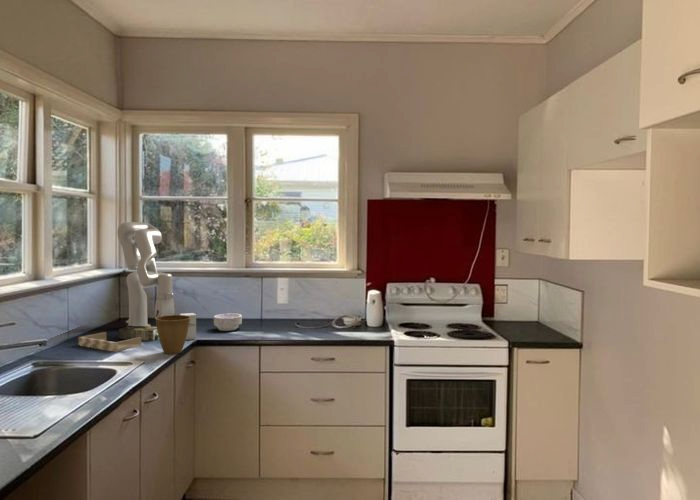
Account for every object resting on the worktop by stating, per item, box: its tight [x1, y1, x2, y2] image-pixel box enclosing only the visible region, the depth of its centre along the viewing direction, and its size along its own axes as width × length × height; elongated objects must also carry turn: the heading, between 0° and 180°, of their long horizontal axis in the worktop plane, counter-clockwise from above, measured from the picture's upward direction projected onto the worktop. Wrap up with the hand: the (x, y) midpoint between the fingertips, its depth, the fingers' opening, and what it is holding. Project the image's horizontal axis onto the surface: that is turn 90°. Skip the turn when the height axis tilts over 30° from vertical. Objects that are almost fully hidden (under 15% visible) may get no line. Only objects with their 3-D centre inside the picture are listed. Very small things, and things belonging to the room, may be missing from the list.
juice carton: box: [117, 325, 159, 342], centre depth 260 cm, size 20×10×6 cm, turn 84°
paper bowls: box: [213, 312, 243, 332], centre depth 283 cm, size 15×15×8 cm
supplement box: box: [178, 312, 197, 341], centre depth 259 cm, size 7×7×13 cm
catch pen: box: [77, 331, 142, 353], centre depth 243 cm, size 26×14×4 cm, turn 62°
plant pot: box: [154, 314, 190, 355], centre depth 230 cm, size 15×15×16 cm
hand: (165, 330), depth 273 cm, fingers closed
